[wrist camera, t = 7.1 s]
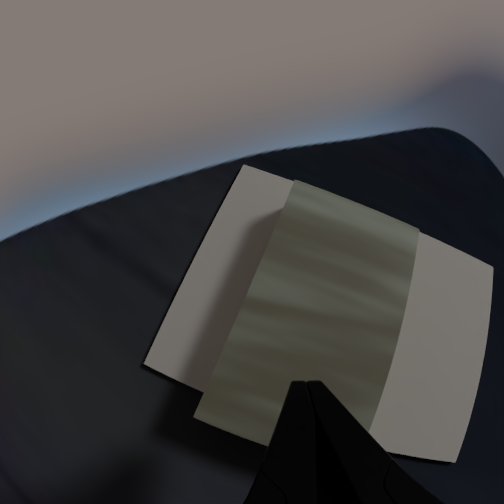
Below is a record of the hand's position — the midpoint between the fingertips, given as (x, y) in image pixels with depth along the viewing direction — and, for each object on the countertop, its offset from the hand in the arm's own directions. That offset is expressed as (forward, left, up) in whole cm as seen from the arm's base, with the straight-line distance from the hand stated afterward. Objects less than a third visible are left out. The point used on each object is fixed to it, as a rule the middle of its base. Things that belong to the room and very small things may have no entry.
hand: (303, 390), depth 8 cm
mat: (+5, -3, -7) cm, 9 cm away
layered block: (-2, -1, -5) cm, 6 cm away
